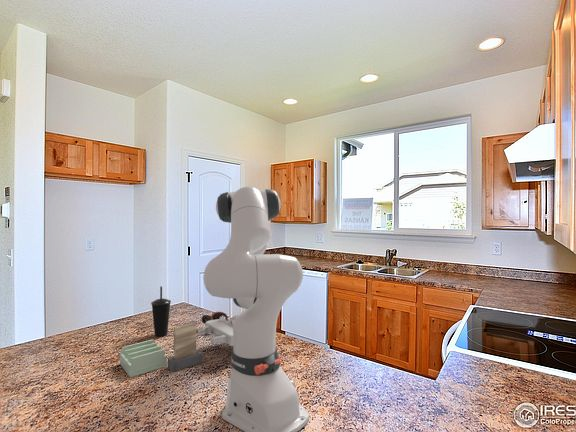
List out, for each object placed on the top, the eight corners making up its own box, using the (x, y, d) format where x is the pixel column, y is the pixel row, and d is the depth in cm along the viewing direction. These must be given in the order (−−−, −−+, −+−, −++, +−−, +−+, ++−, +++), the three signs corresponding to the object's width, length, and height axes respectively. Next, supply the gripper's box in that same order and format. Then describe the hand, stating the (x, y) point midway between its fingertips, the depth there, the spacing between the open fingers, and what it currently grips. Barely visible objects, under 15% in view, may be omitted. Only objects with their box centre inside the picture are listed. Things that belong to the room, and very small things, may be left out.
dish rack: (166, 366, 103) (166, 349, 103) (130, 377, 95) (130, 359, 95) (154, 354, 112) (154, 338, 112) (120, 363, 104) (120, 347, 104)
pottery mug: (228, 325, 143) (231, 312, 139) (223, 341, 135) (226, 328, 131) (202, 318, 142) (205, 305, 139) (196, 335, 134) (198, 321, 130)
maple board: (196, 362, 105) (196, 323, 105) (175, 369, 101) (175, 328, 101) (194, 360, 107) (194, 322, 107) (173, 367, 102) (173, 327, 102)
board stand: (202, 362, 105) (202, 353, 105) (172, 372, 99) (172, 362, 99) (196, 357, 109) (196, 349, 109) (167, 367, 102) (167, 357, 102)
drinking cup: (146, 337, 127) (146, 287, 127) (159, 330, 135) (159, 284, 135) (162, 339, 125) (162, 289, 125) (174, 332, 132) (174, 285, 133)
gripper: (225, 312, 125) (192, 320, 116) (254, 326, 110) (219, 335, 101) (225, 328, 125) (192, 337, 116) (254, 344, 110) (219, 355, 101)
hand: (205, 336), depth 108 cm, fingers open, 8 cm apart
